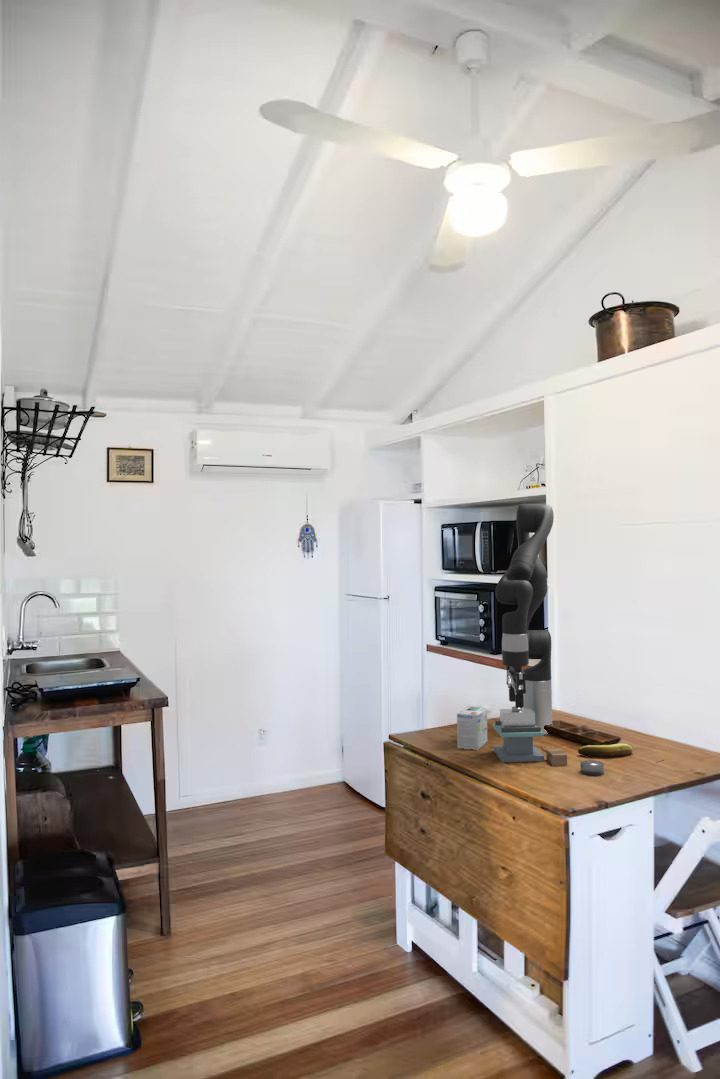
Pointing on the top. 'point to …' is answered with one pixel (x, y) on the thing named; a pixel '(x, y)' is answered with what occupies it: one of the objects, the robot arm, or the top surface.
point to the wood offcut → (556, 757)
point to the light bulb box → (472, 728)
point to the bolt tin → (592, 767)
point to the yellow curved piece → (604, 750)
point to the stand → (518, 743)
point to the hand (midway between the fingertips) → (516, 704)
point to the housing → (517, 717)
